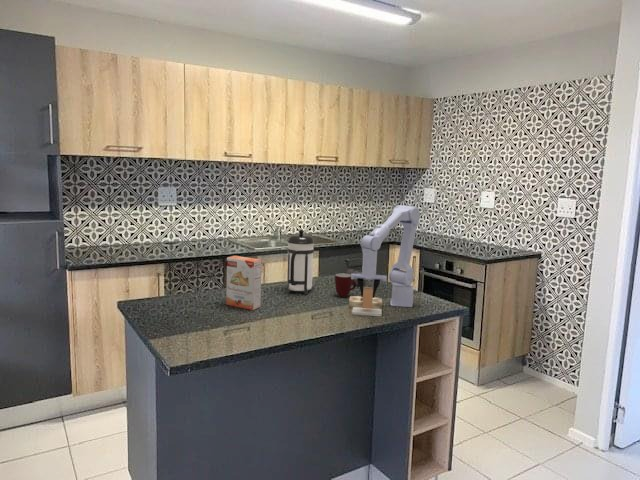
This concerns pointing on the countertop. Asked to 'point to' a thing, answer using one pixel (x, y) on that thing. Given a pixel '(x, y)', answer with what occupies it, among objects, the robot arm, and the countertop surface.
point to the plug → (367, 297)
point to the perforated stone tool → (351, 271)
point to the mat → (366, 311)
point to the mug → (344, 284)
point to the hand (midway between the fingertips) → (367, 296)
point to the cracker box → (244, 282)
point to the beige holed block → (358, 302)
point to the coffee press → (300, 263)
